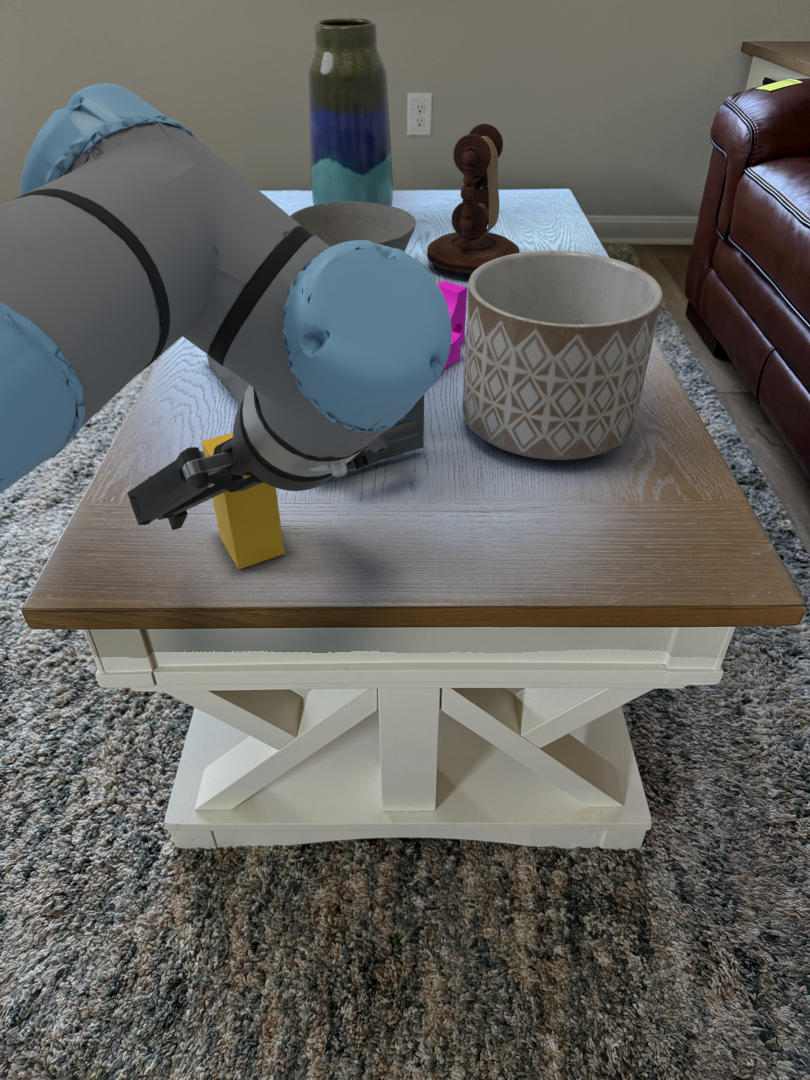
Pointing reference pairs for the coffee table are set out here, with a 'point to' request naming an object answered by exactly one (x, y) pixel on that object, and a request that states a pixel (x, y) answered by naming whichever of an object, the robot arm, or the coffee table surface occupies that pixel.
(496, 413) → the planter
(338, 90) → the vase
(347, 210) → the bowl
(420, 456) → the coffee table surface
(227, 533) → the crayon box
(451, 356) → the toy block
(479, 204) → the brown rounded piece
